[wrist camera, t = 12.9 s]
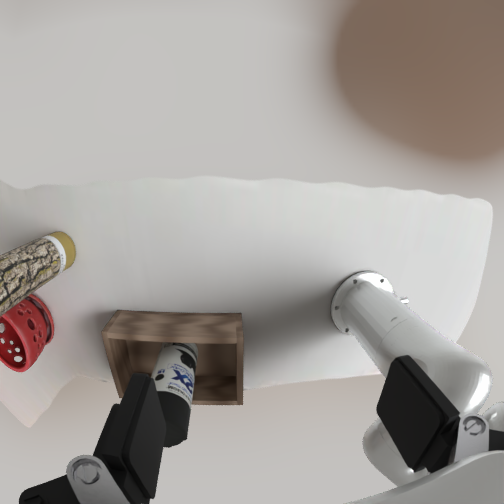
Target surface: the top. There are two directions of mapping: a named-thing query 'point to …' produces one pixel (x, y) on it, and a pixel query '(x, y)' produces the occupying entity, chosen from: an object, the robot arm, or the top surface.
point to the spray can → (175, 387)
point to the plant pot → (25, 332)
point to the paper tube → (33, 267)
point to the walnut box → (179, 331)
